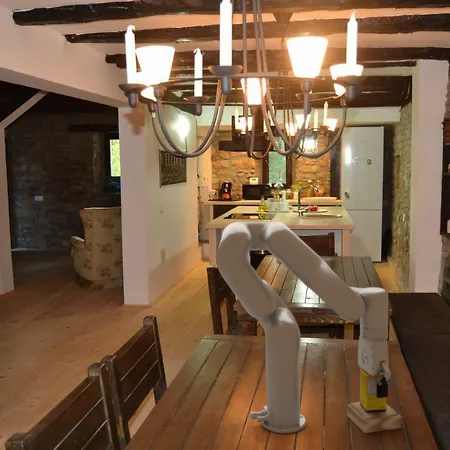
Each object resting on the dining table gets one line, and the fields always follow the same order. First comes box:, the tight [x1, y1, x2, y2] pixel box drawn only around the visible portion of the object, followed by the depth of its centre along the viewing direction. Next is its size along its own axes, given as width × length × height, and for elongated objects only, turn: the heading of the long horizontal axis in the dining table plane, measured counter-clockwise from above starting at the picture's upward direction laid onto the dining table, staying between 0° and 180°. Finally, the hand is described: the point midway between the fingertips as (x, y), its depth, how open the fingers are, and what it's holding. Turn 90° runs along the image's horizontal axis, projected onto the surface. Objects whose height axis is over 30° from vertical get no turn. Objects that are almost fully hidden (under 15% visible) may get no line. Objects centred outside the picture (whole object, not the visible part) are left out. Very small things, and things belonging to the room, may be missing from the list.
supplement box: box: [359, 368, 387, 413], centre depth 159 cm, size 6×6×11 cm
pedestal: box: [346, 401, 402, 434], centre depth 160 cm, size 11×11×4 cm
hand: (373, 390), depth 159 cm, fingers open, 9 cm apart
